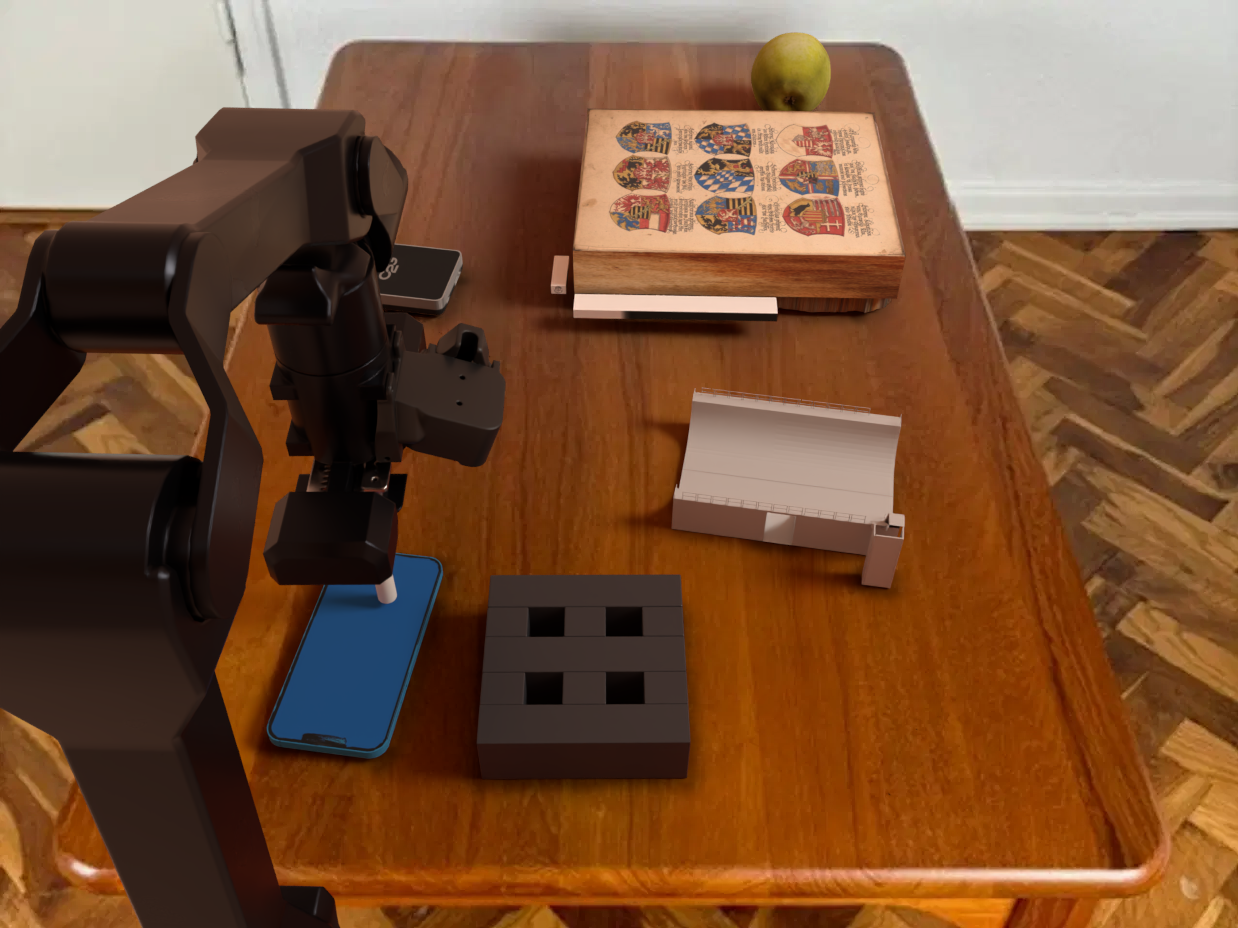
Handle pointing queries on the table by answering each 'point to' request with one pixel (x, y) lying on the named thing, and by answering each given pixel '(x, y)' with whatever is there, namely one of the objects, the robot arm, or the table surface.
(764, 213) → the book
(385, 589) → the stylus
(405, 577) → the smartphone
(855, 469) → the skate ramp
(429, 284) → the external hard drive
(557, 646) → the pen stand
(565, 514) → the table surface
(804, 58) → the apple
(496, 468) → the table surface
